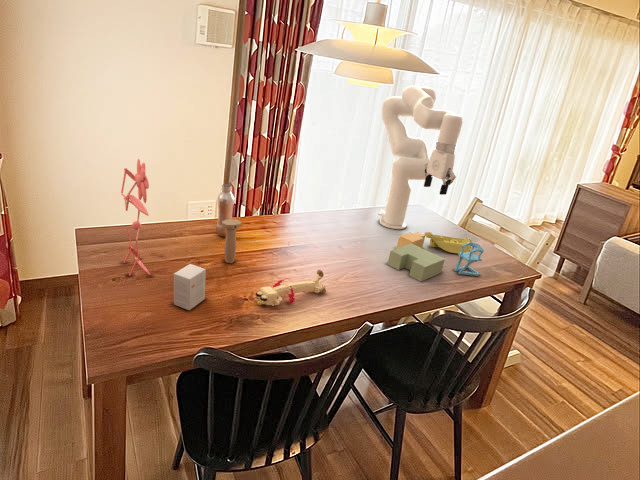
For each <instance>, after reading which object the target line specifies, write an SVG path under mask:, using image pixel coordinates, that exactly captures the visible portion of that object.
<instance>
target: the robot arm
mask: <svg viewBox="0 0 640 480" xmlns="http://www.w3.org/2000/svg"><path fill="white" fill-rule="evenodd" d="M436 95H437V94H436V92H435V90H434V89H433V88H432V87H429V86H421V85H409V86H406V87H405V88H404V89H403V90H402V94H401V96H400V95H399V96H397V95H395V96H394V95H393V96H389V97H387V98H385V99H384V101H383V103H382V106H381V118H382V121H383V125H384V127H385V129H386V132H387V135H388V140H389V144H390V149H391V153H392V155H393V156H394V157H395V158H396V159H395V160H394V161H393V163H392V168H391V170H392V171H391V182H390V186H389V192H388V196H387V200H386V206H385V209H384V210H383V209H379V211H378V213H377V215H378V216H380V217H381V218H380V219H379V224H380V225H381V226H383V227H385V228H388V229H392V230H403V229H406V228H407V224H406V222H405V218H406V213H407V209H408V206H409V205H408V204H409V202H410V196H411V193H412V188H411V187H412V186H411V184H410V182H409V181H424V183H423V187H424V188H429V187H431V185H432V181H433V177H435V178H437V179H440V180H441V181H442V184H441V187H440V188H439V189H440V190H439V195H441V196H443V195H447V193H448V189H449V186H451V184H452V183H454V181H455V180H456V178H457V176H456V174H455V173H454V171H453V170H454V165H455V158H456V154H455V152H456V148H457V145H458V142H459V137H460V135H461V134H460V133H461V131H462V126H463V122H464V117H463V116H462V115H459V114H456V113H455V112H453V111H451V110H447V109H446V110H444V109H435V108H434V106H435V102H436V98H437V97H436ZM400 118H407V119H408V118H409V119H413V121H414V122H415V123H416V124H417V126H419V127H420V128H422V129H425V130H435V131H439V132H438V136H437V140H436V142H435V147H434V148H433V149H432V152H431V154H430V156H429V151H428V146H427V143H426V141H425V140H424V139H422V138H421V137H415V136H410V135H409V133H408V129H407V126H406V125H405V123H404V122H403V121H402V119H400Z"/></svg>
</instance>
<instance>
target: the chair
mask: <svg viewBox="0 0 640 480" xmlns="http://www.w3.org/2000/svg"><path fill="white" fill-rule="evenodd" d="M468 245H470V246H471V251H470V252H465V253H463V252H464V247H466V246H468ZM475 253H478V255H476V254H475ZM483 253H484V248H483V247H482V245H481V244H479V243H475V242H471V243H466V244H464V245H462V251H461V252H460V253H458V260H457V263H456V266H455V268H454V272H458V273H457V274H458V275H464V276H465V275H466V276H474V277H479V276H480V272H478V271H477V270H475V269H474V268H472V267H471V266H470V265H472V264H475V263H476V262H482V260H483V259H482V258H481V256H482V254H483ZM463 259H464V260H465V261H466V262H467V263H466V264H465V265H462V266H461V263H462V260H463ZM467 269H468V270H469V271H465V270H467Z"/></svg>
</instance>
